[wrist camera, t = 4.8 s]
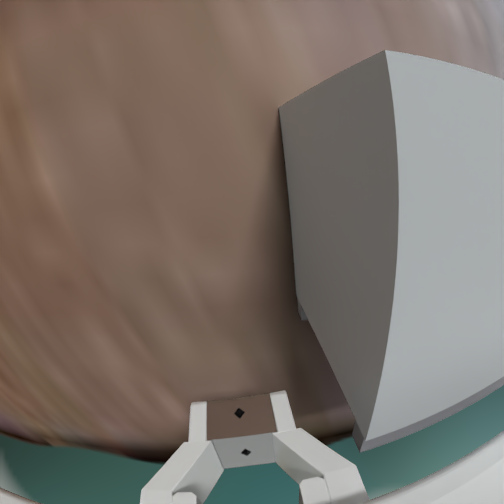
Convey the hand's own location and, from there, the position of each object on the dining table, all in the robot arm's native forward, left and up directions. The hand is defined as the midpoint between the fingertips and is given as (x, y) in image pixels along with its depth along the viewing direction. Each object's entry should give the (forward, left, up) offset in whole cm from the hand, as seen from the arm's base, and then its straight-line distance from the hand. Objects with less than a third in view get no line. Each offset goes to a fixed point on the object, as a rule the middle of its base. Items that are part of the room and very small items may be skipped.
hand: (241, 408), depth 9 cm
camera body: (+9, +5, -4) cm, 11 cm away
